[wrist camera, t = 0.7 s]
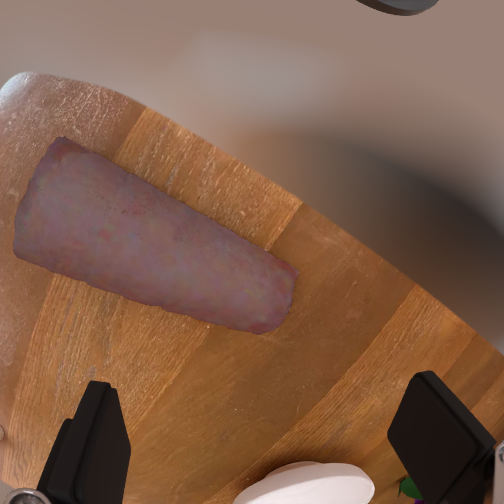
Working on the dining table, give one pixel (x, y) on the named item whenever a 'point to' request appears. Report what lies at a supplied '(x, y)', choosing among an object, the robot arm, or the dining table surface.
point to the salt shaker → (1, 433)
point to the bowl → (310, 485)
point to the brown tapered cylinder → (145, 244)
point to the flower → (411, 490)
